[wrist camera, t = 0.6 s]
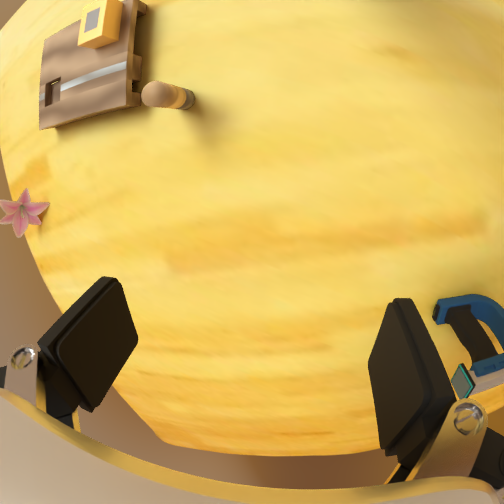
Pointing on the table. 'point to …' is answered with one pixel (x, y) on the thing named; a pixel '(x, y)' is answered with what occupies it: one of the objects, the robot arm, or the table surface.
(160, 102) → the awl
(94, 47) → the block
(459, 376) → the handheld scanner
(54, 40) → the board
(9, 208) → the lily
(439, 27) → the table surface
